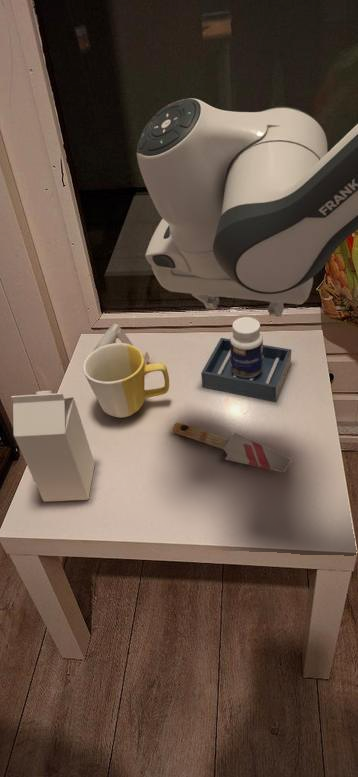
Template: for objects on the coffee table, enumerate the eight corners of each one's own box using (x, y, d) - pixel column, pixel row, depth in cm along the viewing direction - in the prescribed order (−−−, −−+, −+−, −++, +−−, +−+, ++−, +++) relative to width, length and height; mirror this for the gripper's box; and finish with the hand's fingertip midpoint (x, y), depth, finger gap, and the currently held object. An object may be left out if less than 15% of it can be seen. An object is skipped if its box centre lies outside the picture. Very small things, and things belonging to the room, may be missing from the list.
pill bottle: (231, 380, 97) (229, 335, 90) (230, 359, 101) (228, 315, 94) (263, 378, 96) (264, 333, 89) (261, 358, 100) (261, 313, 94)
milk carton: (89, 500, 82) (57, 412, 70) (43, 502, 83) (3, 415, 70) (95, 464, 88) (67, 375, 75) (52, 466, 88) (17, 379, 75)
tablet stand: (134, 390, 99) (124, 354, 94) (95, 385, 102) (84, 350, 96) (150, 361, 105) (142, 325, 100) (113, 357, 108) (104, 322, 102)
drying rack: (290, 364, 101) (291, 349, 98) (275, 402, 94) (276, 387, 91) (221, 351, 105) (220, 337, 103) (202, 387, 99) (201, 372, 96)
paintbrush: (282, 468, 79) (168, 428, 89) (282, 480, 81) (170, 440, 90) (292, 450, 81) (180, 413, 91) (292, 462, 83) (182, 424, 93)
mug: (88, 426, 94) (74, 381, 87) (104, 386, 101) (92, 341, 94) (165, 430, 91) (157, 384, 84) (175, 389, 99) (169, 343, 92)
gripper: (310, 221, 59) (325, 296, 71) (152, 217, 69) (188, 284, 80) (294, 267, 57) (312, 337, 69) (133, 256, 67) (172, 319, 78)
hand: (244, 308), depth 74 cm, fingers open, 8 cm apart
